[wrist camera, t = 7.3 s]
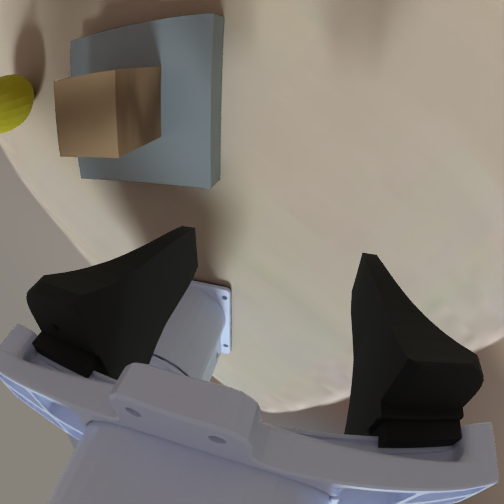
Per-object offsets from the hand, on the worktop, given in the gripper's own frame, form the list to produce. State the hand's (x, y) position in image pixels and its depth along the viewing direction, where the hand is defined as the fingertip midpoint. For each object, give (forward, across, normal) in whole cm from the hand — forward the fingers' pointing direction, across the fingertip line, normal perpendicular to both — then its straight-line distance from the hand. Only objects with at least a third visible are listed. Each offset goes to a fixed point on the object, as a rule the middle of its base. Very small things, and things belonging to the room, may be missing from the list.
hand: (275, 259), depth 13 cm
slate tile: (+10, +12, -6) cm, 16 cm away
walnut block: (+8, +12, -6) cm, 15 cm away
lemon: (+10, +26, -8) cm, 29 cm away
